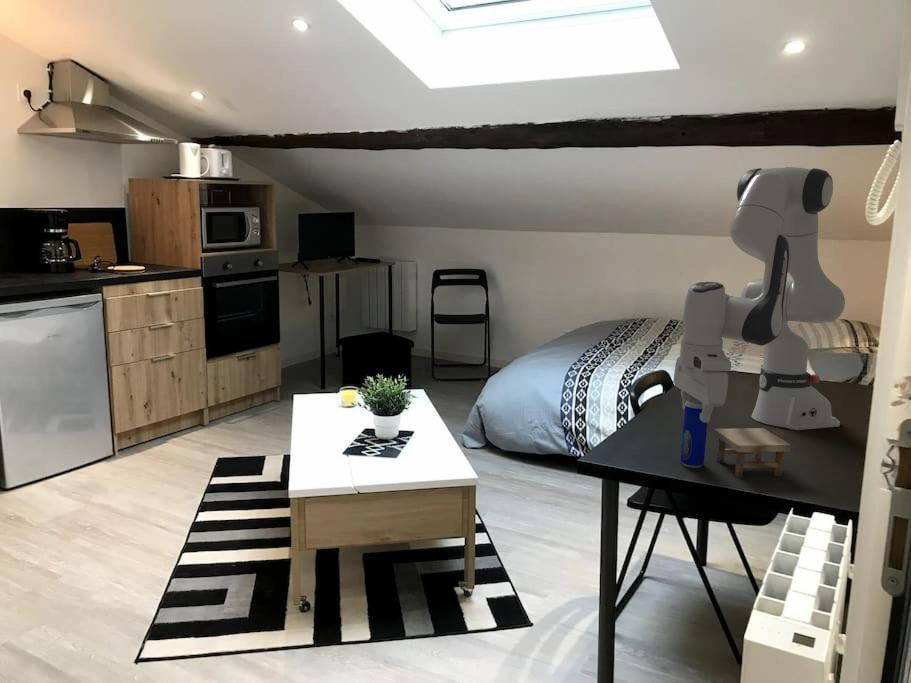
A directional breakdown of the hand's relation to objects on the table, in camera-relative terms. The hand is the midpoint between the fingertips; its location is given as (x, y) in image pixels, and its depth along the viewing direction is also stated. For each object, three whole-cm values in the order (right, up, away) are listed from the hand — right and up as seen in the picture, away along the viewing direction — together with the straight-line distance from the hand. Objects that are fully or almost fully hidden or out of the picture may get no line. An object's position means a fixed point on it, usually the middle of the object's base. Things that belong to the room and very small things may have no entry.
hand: (695, 415), depth 167 cm
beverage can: (0, -12, +3) cm, 12 cm away
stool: (+12, -12, +1) cm, 17 cm away
